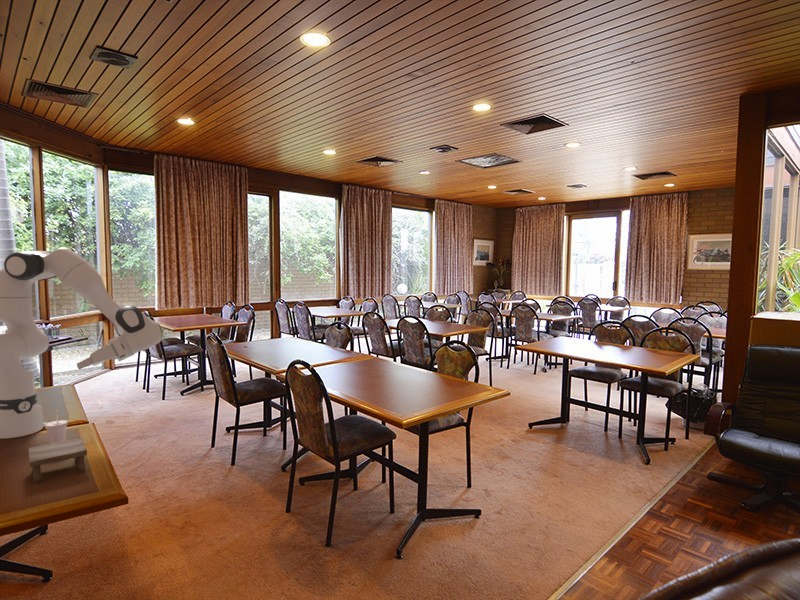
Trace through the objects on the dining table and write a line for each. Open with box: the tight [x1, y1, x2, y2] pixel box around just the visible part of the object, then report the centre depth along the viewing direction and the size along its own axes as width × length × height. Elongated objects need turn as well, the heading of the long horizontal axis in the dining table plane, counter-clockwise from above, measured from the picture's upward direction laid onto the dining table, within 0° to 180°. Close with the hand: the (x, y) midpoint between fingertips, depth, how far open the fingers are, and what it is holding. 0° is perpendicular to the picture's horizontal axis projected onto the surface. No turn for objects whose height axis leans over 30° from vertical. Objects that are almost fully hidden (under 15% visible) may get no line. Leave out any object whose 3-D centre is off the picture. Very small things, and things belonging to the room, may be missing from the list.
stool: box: [28, 437, 88, 484], centre depth 148 cm, size 14×14×7 cm
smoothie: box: [44, 410, 69, 444], centre depth 164 cm, size 6×6×14 cm
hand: (77, 366), depth 169 cm, fingers open, 8 cm apart
